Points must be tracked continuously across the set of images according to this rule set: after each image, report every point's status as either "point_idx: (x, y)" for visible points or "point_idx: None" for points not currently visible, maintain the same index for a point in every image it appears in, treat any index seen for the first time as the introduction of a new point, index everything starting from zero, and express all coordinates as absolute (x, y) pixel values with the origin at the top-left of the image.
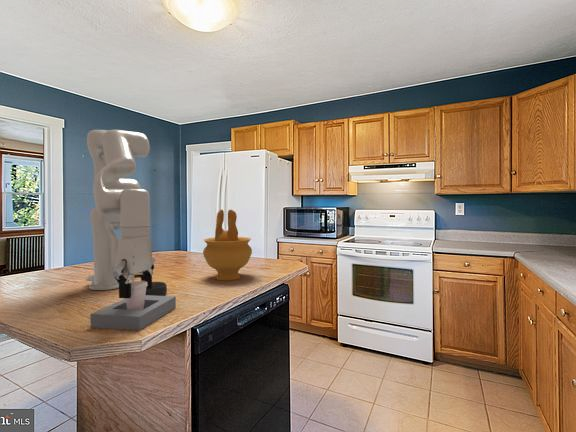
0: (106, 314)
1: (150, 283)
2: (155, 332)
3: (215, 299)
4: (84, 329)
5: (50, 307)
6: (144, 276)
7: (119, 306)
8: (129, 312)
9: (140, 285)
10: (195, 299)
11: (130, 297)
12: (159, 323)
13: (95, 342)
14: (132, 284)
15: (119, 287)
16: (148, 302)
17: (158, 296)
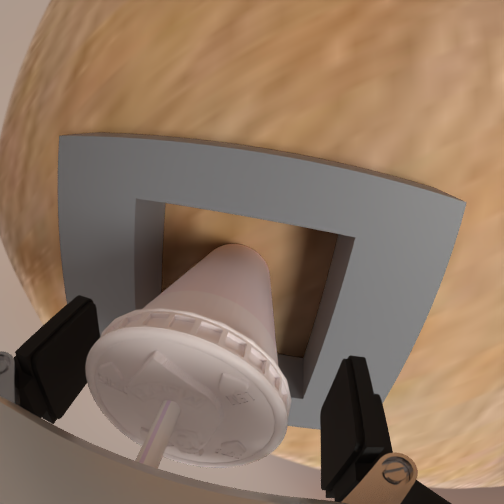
0: (62, 227)
1: (323, 441)
2: None
3: (420, 458)
4: (80, 124)
5: None
6: (341, 462)
7: (213, 207)
8: (103, 322)
9: (137, 442)
10: (447, 415)
11: None
12: None
13: (18, 243)
14: (133, 404)
15: (37, 336)
16: (321, 336)
17: (388, 369)
